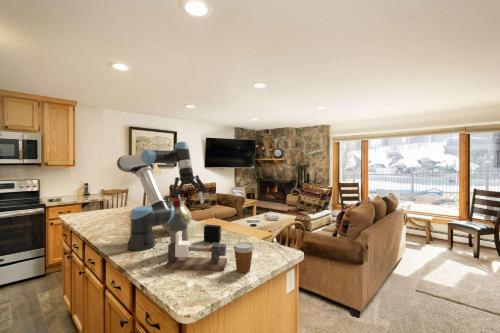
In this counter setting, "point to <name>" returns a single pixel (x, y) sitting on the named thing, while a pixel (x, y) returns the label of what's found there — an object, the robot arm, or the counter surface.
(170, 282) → the counter surface
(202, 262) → the rail stand
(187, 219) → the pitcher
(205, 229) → the electronic device
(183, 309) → the counter surface
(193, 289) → the counter surface
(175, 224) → the liquor
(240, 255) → the disposable coffee cup
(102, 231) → the counter surface
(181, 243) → the white l-shaped block
